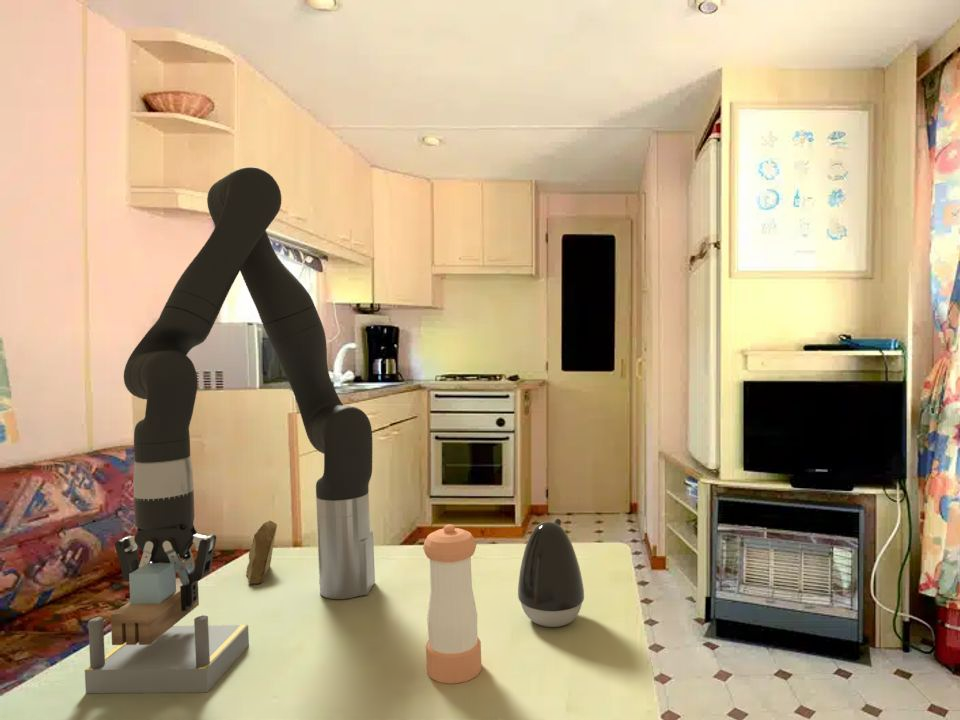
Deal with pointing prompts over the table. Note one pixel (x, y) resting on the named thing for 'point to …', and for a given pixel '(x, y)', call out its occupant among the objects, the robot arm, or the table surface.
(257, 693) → the table surface
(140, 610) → the pallet
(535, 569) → the dark grey egg shape
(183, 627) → the dock
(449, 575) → the salt shaker
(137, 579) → the pale blue cube
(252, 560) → the rock
